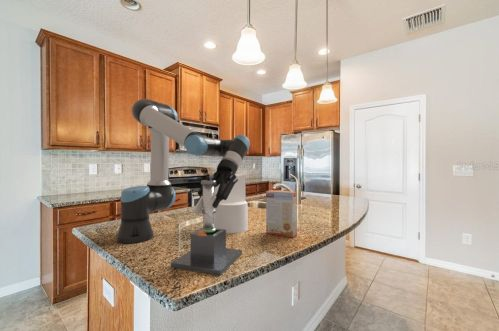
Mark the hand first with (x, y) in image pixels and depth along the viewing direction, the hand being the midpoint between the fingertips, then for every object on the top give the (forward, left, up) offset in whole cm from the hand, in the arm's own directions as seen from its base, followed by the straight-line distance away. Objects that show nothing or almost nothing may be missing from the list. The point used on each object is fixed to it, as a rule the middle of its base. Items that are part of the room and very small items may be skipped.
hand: (201, 213), depth 78 cm
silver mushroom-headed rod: (+1, +4, -11) cm, 12 cm away
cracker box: (+19, +43, -17) cm, 50 cm away
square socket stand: (+1, +4, -17) cm, 17 cm away
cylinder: (-8, +44, -17) cm, 48 cm away
